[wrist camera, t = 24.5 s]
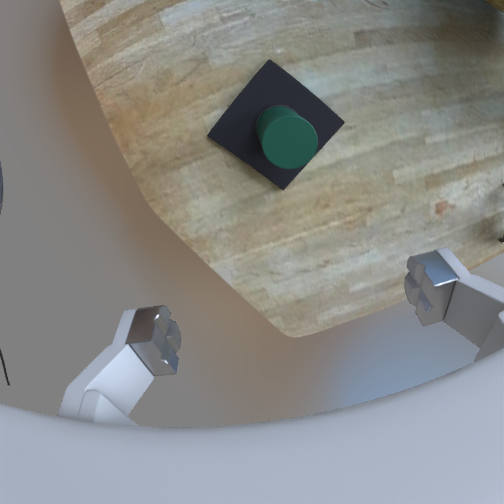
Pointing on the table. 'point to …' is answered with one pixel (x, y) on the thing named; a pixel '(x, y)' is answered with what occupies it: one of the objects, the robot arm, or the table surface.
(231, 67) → the table surface
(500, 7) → the clay pot
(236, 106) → the mat
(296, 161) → the thermos cap
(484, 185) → the table surface
